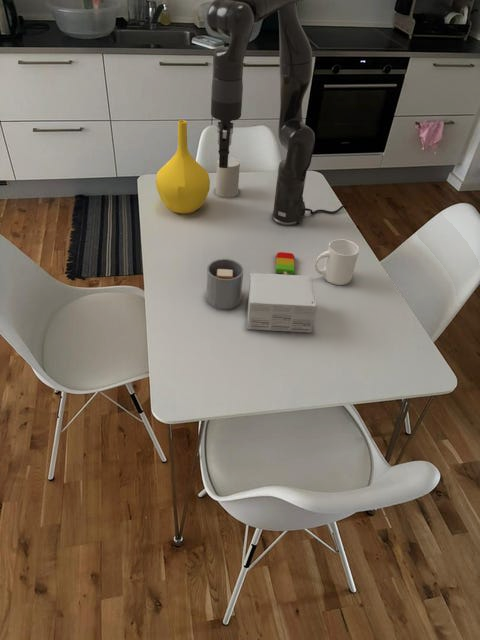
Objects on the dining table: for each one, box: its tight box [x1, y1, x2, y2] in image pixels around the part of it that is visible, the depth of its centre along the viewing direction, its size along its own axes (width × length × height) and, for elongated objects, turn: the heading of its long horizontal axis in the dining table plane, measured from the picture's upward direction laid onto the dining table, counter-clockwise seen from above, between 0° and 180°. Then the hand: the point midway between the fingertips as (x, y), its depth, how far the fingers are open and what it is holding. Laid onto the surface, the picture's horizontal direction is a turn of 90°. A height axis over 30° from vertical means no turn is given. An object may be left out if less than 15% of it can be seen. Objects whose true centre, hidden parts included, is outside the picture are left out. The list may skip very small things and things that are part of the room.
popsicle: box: [275, 251, 296, 275], centre depth 152 cm, size 6×15×2 cm, turn 176°
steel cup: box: [206, 258, 244, 310], centre depth 137 cm, size 10×10×10 cm
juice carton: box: [216, 269, 233, 279], centre depth 137 cm, size 4×3×8 cm
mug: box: [314, 238, 360, 286], centre depth 148 cm, size 9×12×11 cm
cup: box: [215, 156, 241, 199], centre depth 184 cm, size 8×8×12 cm
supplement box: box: [246, 272, 317, 334], centre depth 133 cm, size 17×13×9 cm
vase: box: [155, 119, 211, 215], centre depth 168 cm, size 18×18×30 cm
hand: (223, 160), depth 133 cm, fingers open, 8 cm apart
